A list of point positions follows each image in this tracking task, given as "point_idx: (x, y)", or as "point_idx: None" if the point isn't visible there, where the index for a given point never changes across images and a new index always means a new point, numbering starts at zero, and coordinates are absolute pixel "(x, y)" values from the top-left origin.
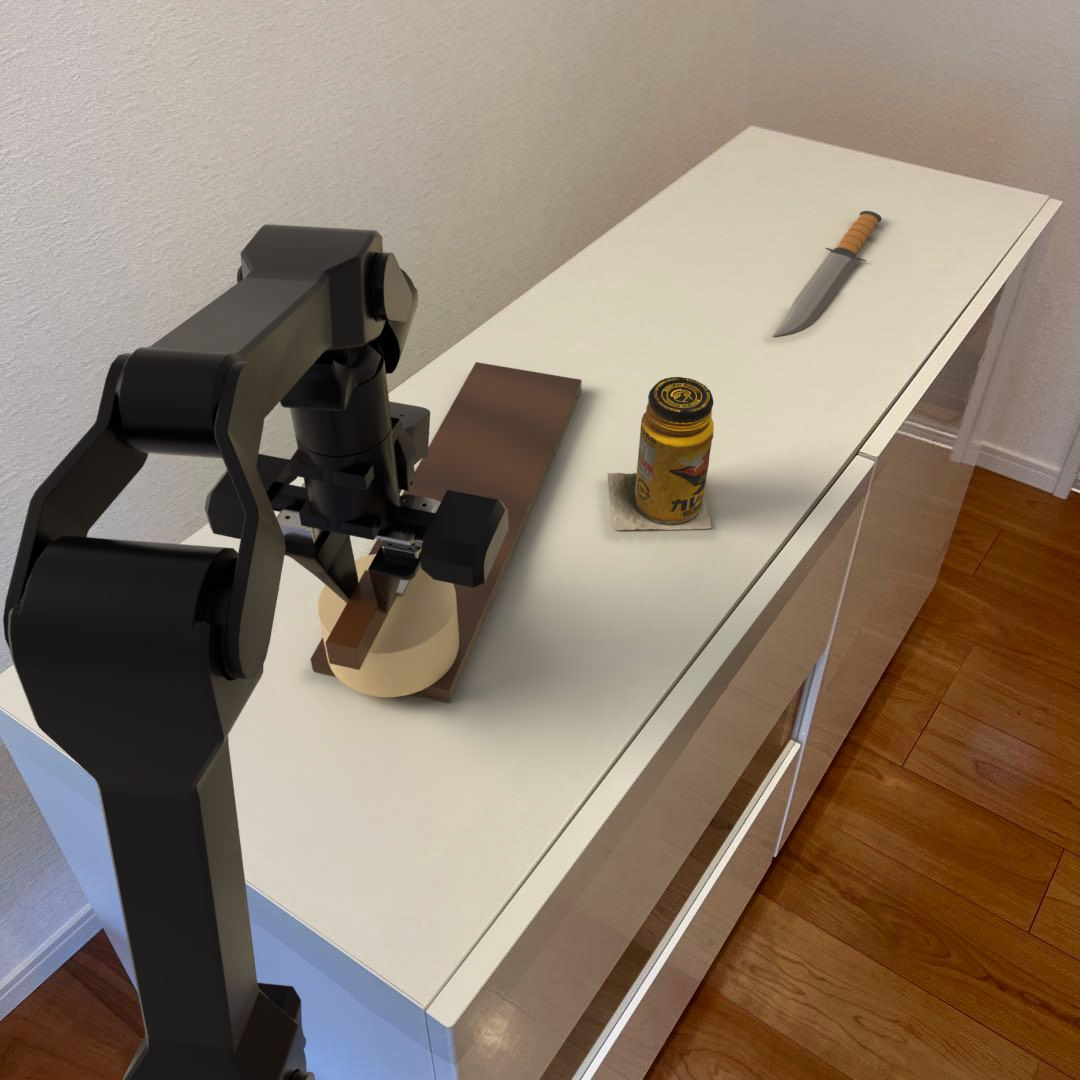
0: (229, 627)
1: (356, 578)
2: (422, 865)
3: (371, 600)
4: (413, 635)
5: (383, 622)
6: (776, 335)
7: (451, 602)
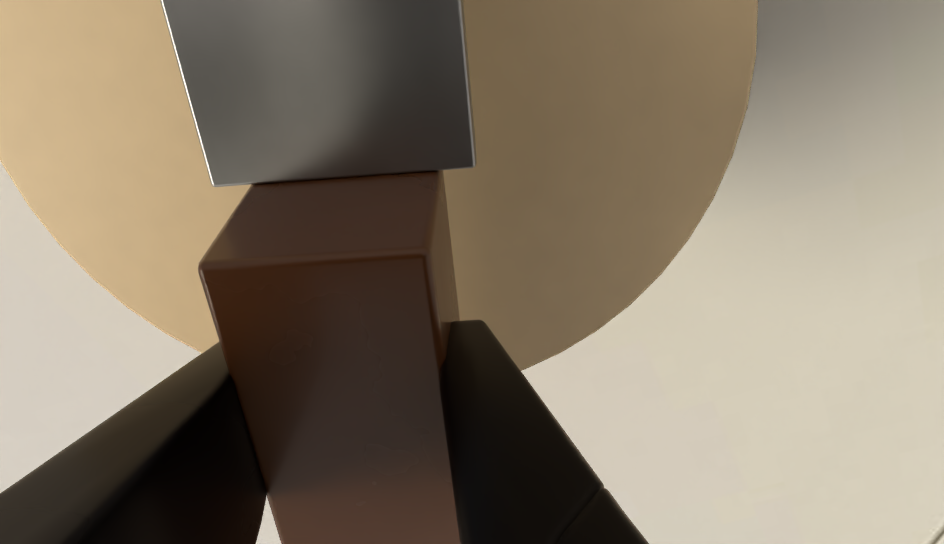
0: None
1: (215, 421)
2: (736, 523)
3: (398, 469)
4: (596, 255)
5: None
6: None
7: None
